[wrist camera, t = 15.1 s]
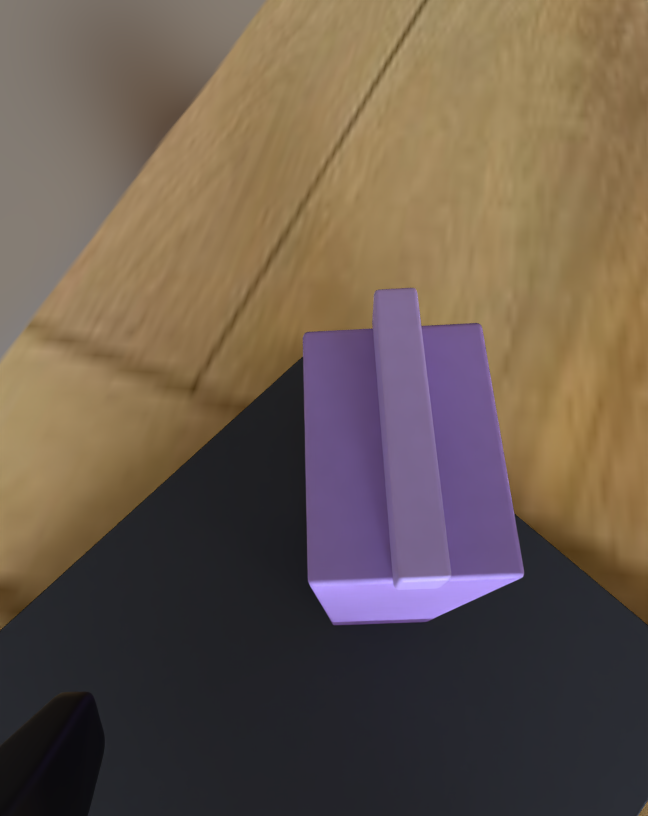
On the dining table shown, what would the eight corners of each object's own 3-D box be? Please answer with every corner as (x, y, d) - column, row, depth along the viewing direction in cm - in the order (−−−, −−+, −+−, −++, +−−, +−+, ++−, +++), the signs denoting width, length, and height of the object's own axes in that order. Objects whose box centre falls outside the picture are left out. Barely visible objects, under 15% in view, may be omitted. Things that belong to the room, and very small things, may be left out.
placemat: (713, 686, 18) (722, 687, 18) (224, 1434, 13) (219, 1464, 12) (314, 351, 24) (314, 345, 23) (-143, 767, 18) (-155, 769, 18)
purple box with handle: (428, 625, 19) (550, 576, 7) (332, 628, 19) (302, 586, 7) (415, 490, 20) (495, 280, 9) (327, 494, 21) (297, 292, 9)
